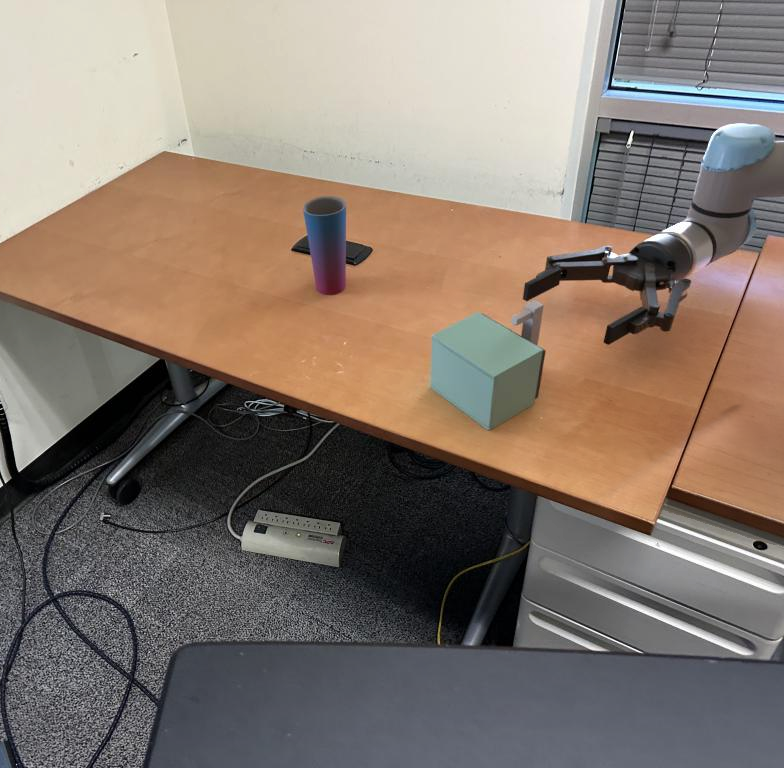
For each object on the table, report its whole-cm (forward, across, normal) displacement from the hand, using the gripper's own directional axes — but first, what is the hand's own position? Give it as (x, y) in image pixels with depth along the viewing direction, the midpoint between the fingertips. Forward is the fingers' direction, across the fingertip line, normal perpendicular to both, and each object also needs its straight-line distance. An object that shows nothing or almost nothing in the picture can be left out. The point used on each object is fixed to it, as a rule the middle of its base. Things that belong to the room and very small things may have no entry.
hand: (564, 312), depth 92 cm
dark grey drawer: (+12, 0, -6) cm, 13 cm away
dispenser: (+14, 0, -7) cm, 16 cm away
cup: (+14, +36, -7) cm, 39 cm away
